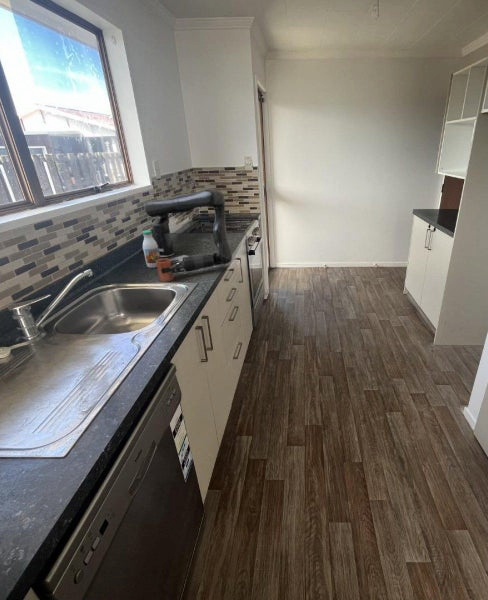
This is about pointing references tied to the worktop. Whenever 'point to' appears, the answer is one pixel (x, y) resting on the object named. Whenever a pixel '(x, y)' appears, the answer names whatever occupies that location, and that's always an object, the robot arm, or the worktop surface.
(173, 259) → the scale platform
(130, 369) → the worktop surface
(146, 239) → the milk bottle
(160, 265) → the cup
